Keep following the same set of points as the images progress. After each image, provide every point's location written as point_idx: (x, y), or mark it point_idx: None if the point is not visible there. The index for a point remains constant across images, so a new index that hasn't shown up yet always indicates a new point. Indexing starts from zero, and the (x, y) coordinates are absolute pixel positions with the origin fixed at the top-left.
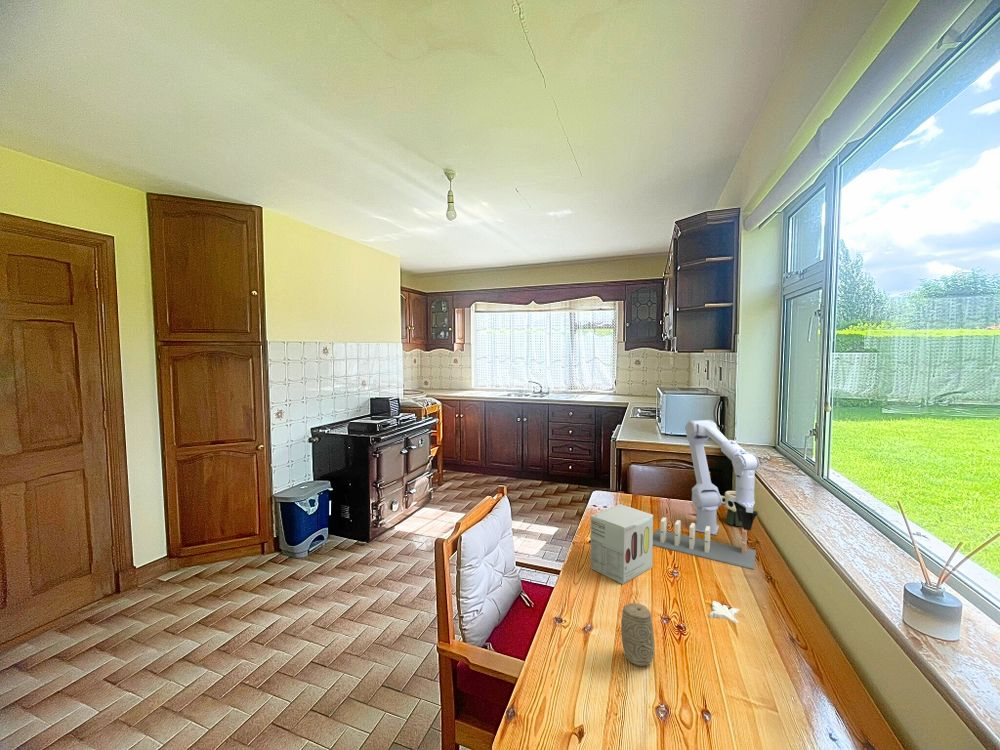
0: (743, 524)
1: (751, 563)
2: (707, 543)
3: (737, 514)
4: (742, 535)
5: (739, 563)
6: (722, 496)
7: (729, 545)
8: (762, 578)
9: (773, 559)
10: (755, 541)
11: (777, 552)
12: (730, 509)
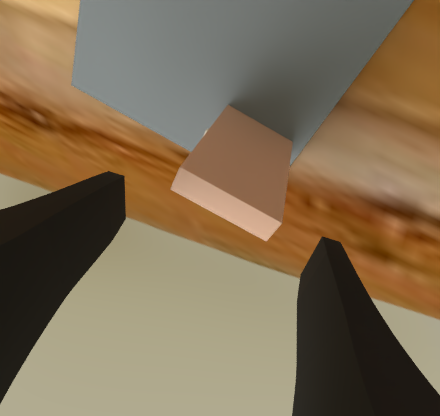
0: (59, 193)
1: (120, 100)
2: None
3: (335, 286)
4: (192, 153)
5: (99, 28)
6: None
7: (340, 78)
8: (14, 83)
9: (200, 217)
10: (385, 249)
11: (265, 263)
12: None
